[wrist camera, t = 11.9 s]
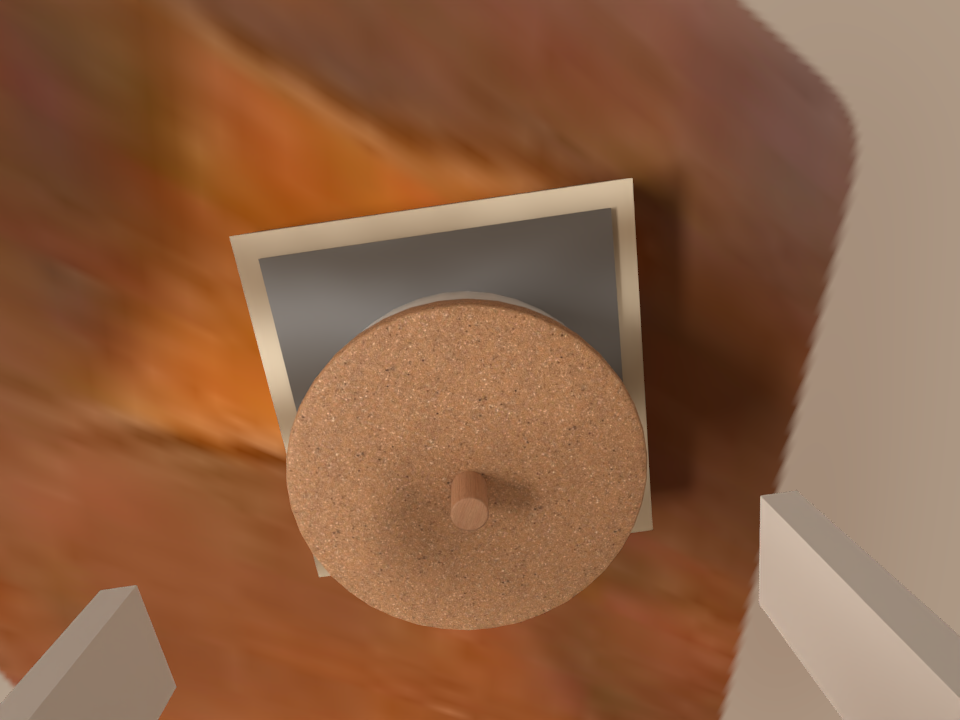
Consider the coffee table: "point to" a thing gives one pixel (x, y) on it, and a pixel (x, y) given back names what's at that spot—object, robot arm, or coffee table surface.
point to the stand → (447, 280)
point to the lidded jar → (466, 462)
